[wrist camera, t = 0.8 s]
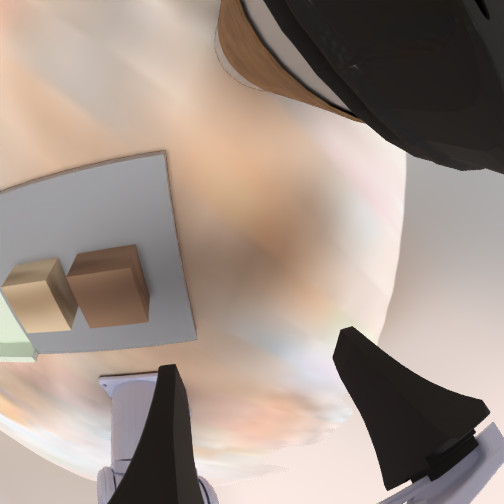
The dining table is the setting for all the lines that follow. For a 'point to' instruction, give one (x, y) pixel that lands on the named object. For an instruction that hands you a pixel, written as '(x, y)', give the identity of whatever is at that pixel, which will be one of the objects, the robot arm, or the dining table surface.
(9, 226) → the slate board
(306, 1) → the coffee cup
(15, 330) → the tray
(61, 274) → the oak tile
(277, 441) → the dining table surface
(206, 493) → the robot arm
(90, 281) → the walnut tile
